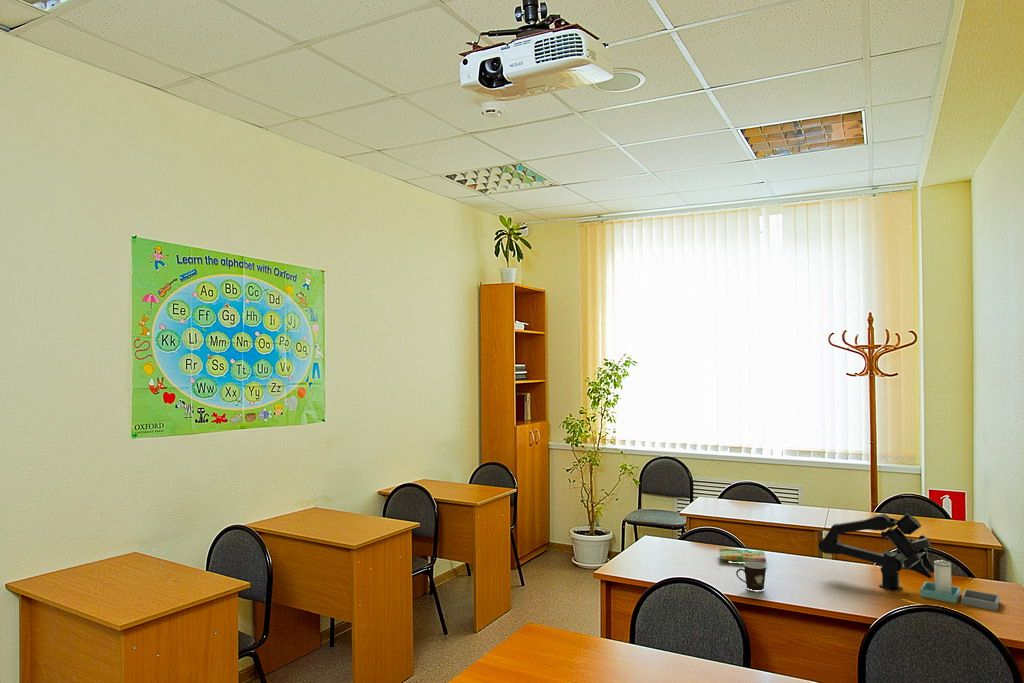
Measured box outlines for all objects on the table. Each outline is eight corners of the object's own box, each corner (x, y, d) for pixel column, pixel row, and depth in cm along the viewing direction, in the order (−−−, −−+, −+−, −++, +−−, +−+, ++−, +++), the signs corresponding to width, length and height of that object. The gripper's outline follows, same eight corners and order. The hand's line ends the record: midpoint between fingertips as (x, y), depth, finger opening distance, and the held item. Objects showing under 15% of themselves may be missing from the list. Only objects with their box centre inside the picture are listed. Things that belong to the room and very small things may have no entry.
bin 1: (956, 605, 260) (956, 596, 260) (920, 598, 268) (920, 589, 268) (960, 596, 269) (960, 587, 269) (925, 590, 277) (925, 581, 277)
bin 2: (996, 612, 252) (996, 603, 252) (961, 605, 259) (961, 596, 259) (999, 604, 261) (999, 595, 261) (965, 597, 268) (965, 588, 268)
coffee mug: (766, 587, 281) (765, 563, 281) (766, 594, 272) (766, 569, 273) (736, 584, 284) (736, 560, 285) (736, 591, 276) (735, 566, 276)
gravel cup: (946, 599, 264) (945, 563, 264) (931, 595, 269) (930, 559, 269) (955, 596, 267) (954, 561, 267) (939, 592, 272) (938, 557, 272)
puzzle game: (766, 557, 307) (719, 553, 313) (766, 567, 307) (719, 564, 313) (764, 549, 319) (719, 546, 324) (764, 560, 319) (719, 556, 324)
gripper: (912, 534, 267) (945, 568, 259) (921, 525, 281) (952, 557, 274) (890, 551, 272) (922, 584, 264) (899, 541, 286) (930, 572, 279)
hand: (932, 574), depth 270 cm, fingers open, 9 cm apart
